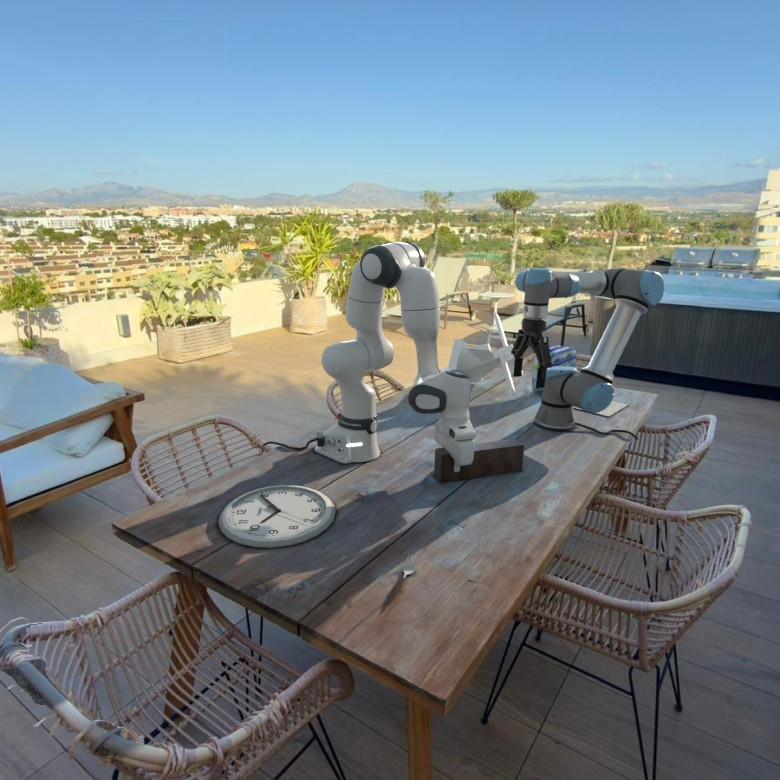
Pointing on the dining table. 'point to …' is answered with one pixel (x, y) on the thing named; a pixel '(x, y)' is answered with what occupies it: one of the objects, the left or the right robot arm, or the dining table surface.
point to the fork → (407, 571)
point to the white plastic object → (484, 360)
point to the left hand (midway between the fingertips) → (451, 466)
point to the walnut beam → (481, 461)
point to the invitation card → (611, 408)
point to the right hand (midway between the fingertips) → (528, 381)
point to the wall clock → (277, 516)
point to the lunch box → (556, 361)
